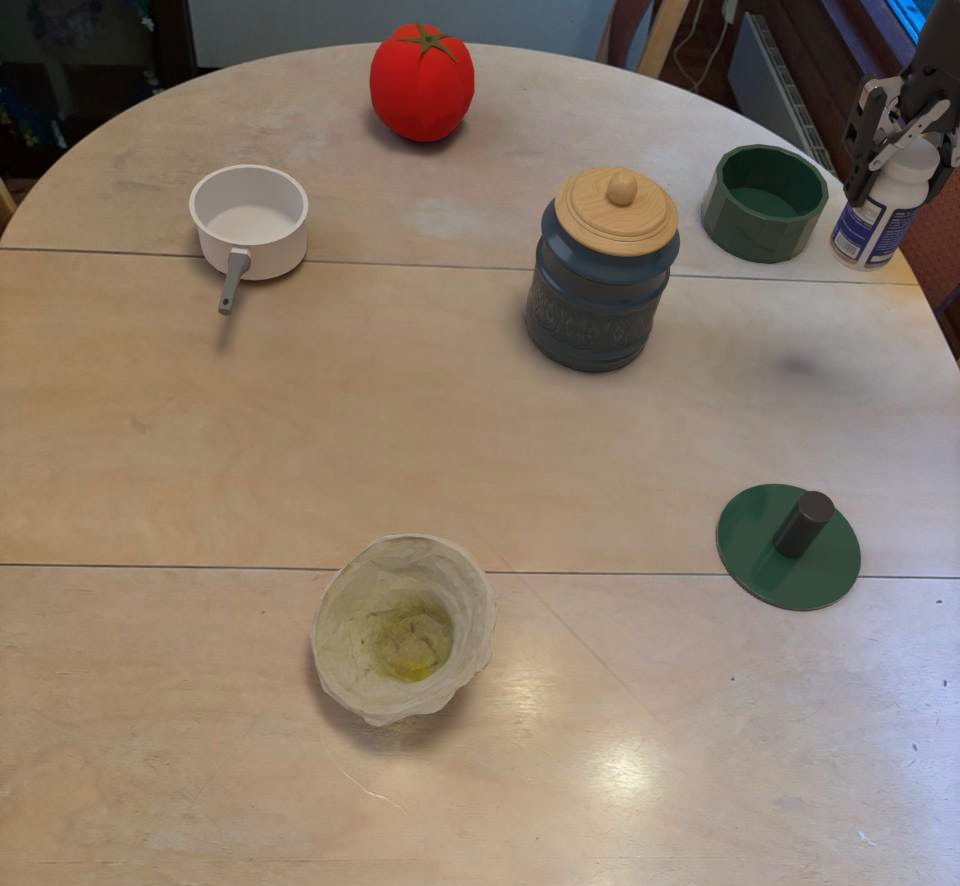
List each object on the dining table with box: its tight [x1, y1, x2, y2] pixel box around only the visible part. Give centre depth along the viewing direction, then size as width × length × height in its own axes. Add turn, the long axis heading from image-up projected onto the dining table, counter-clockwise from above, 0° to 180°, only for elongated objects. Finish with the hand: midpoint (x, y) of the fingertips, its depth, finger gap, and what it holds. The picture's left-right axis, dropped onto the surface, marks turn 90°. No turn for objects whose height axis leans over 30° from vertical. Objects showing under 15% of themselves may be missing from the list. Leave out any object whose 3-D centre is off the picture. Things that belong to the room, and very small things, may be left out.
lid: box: [715, 483, 862, 611], centre depth 84 cm, size 13×13×7 cm
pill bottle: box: [828, 136, 940, 273], centre depth 80 cm, size 6×6×10 cm
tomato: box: [368, 18, 476, 142], centre depth 105 cm, size 12×12×10 cm
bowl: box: [308, 532, 498, 727], centre depth 74 cm, size 15×14×10 cm
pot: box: [701, 143, 830, 264], centre depth 105 cm, size 12×12×5 cm
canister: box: [525, 166, 681, 372], centre depth 90 cm, size 13×13×18 cm
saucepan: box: [188, 163, 309, 317], centre depth 93 cm, size 12×20×6 cm, turn 177°
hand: (886, 198), depth 80 cm, fingers closed on pill bottle, 5 cm apart
